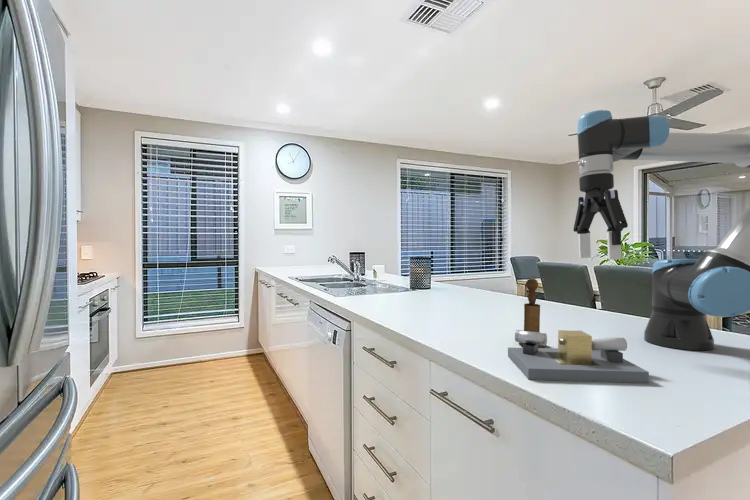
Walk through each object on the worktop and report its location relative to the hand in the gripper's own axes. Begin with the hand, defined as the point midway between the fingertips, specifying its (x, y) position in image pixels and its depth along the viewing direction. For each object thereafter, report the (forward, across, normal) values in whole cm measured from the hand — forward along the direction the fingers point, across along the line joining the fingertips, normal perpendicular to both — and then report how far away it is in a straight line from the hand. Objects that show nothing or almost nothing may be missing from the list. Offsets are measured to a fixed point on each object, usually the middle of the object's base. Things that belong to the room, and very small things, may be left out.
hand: (598, 258), depth 98 cm
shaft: (+21, +9, -21) cm, 31 cm away
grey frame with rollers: (+23, +14, -14) cm, 30 cm away
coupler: (+22, +14, -14) cm, 30 cm away
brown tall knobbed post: (+23, -6, -16) cm, 29 cm away
